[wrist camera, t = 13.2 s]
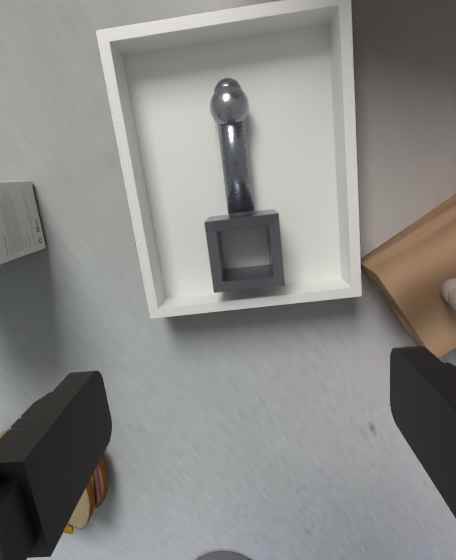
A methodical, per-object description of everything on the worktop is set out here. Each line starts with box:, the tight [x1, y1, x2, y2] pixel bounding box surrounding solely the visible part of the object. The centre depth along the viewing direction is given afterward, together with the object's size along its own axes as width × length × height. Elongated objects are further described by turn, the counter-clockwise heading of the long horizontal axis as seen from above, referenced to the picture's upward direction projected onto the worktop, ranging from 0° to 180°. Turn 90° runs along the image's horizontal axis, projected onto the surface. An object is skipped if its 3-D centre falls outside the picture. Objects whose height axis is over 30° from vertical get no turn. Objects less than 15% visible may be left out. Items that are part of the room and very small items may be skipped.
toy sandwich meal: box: [0, 428, 108, 534], centre depth 39 cm, size 12×14×5 cm
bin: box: [96, 0, 362, 319], centre depth 30 cm, size 22×18×4 cm
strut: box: [204, 78, 285, 293], centre depth 29 cm, size 6×16×4 cm, turn 7°
